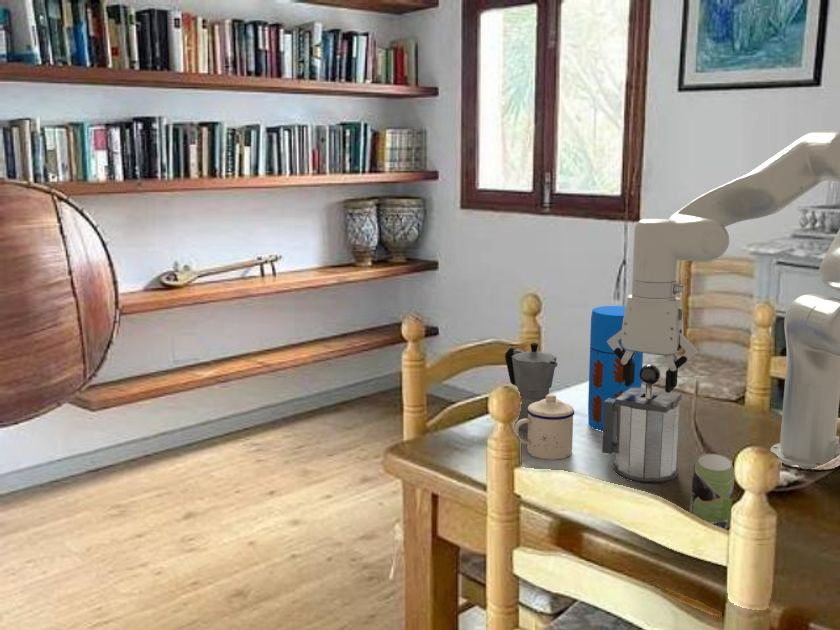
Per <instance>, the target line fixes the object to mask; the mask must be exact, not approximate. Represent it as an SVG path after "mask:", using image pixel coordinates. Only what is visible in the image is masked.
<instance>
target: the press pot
mask: <svg viewBox="0 0 840 630" xmlns="http://www.w3.org/2000/svg"><path fill="white" fill-rule="evenodd" d="M645 393H646V387H641V388H640V387H633V386H632V387H631V388H630V389H628V390H627V391H625V392H624V393H622V394H621V395H620V396H619V397H617V398H616V399H611V398H608V399H607V400H605V401H604V416H603V432H602V445H601V447H602V448H601V453H602V454H607V455H613V454H615V462H614V465H613V471H615V472H614V473H615V474H616V473H617V474H618V475H619V476H618V477H620V476H621V477H620V478H622V477H623V478H622V479H624V478H625V479H624V480H627V479H628V480H627V481H630V480H632V481H631V482H633V481H635V482H634V483H638V482H640V484H649V485H651V484H652V485H653V484H654V485H656V484H665V483H669V482H672V481H674V480H675V479H676V478H677V476H678V468H677V456H678V455H677V454H678V452H677V451H678V437H679V436H678V434H679V421H680V420H679V417H680V403H679V402H680V401H682V393H680V392H679V393H678V392H672V391H671V392H670V393H668V392H666V391H665V390H660V389H653V391H652V399H648V398H645ZM617 412H618V415H617ZM617 474H616V475H617Z"/></svg>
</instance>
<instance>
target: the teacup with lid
mask: <svg viewBox="0 0 840 630" xmlns="http://www.w3.org/2000/svg"><path fill="white" fill-rule="evenodd" d="M527 412H528V418H526V419H521V420H519V421H518V422H517V423H516V424H515V426H513V431H514V430H515V431H516V433H517V434H518V435H519V437H520V439H521V442H520V443H521V444H524V445H525V444H526V445H527V451H528V454H529V455H530V456H532V457H534V458H536V459H541V460H550V461H551V460H553V461H554V460H562V459H565V458H568V457H570V456H571V455H572V454H573V437H574V436H573V431H574V425H573V424H574V415H575V410H574V408H573V406H572V405H571V404H569V403H566V402H564V401H562V400H560V399H557V395H555V394H553V393H549V394H548V395H546V399H543V400H541V401H538V402H534V403H532V404H530V405H529V406H528V409H527ZM524 423H528V431H527V438H526V439H525V438H522V437H521V436H520V434H519V430H520V429H519V427H520V426H521V425H522V424H524Z"/></svg>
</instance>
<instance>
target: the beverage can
mask: <svg viewBox="0 0 840 630" xmlns="http://www.w3.org/2000/svg"><path fill="white" fill-rule="evenodd" d="M734 470H735V468H734V466H733V463H732V461H731V459H729V458H728V457H726V456H724V455H721V454H718V453H705V454H702V455H700V456H699V457H698V459H697V460H696V462H695V463H694V465H693V470H692V480H691V492H690V500H689V501H690V503H689V512H690V513H692V514H694V515H696V516H697V517H699V518H701V519H703V520H706V521H708V522H710V523H712V524H714V525H717V526H719V527H722V528H727V529H729V527H730V523H729V522H730V521H731V514H730V512H731V513H732V505H733V494H734V487H735V479H736V475H735V476H734Z"/></svg>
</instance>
